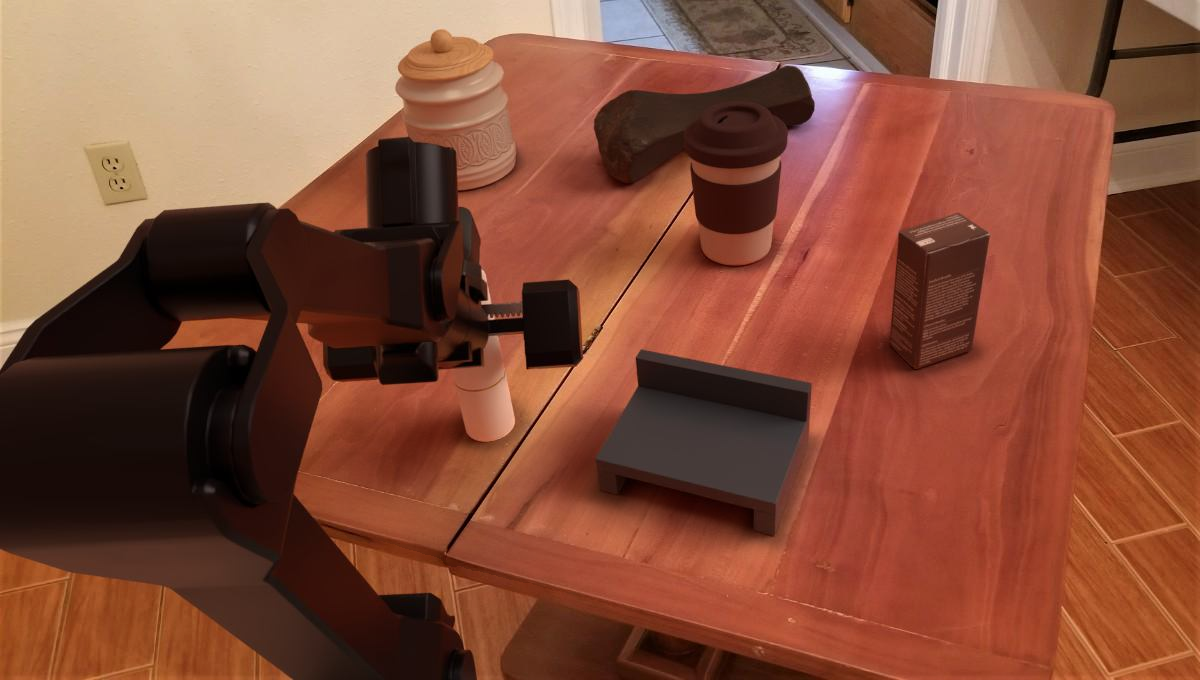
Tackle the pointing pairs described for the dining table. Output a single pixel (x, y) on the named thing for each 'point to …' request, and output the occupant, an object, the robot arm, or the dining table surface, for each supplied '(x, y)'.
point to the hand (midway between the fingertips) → (476, 344)
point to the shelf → (711, 434)
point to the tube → (485, 393)
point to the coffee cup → (735, 179)
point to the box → (937, 289)
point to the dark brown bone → (685, 118)
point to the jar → (459, 105)
